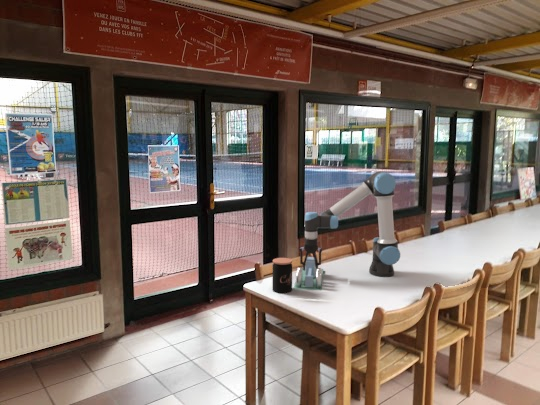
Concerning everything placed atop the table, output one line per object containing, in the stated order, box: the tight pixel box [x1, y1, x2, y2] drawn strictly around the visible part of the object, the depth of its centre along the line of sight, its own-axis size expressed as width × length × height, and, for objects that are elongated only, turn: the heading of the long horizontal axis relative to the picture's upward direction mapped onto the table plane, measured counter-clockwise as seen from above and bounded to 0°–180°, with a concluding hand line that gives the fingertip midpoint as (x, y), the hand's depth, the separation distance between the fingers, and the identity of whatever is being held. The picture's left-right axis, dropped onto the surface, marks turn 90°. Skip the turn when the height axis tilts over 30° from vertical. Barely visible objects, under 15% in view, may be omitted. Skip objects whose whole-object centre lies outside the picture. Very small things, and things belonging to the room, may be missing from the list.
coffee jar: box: [272, 257, 293, 294], centre depth 226 cm, size 11×11×18 cm
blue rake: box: [305, 256, 316, 287], centre depth 244 cm, size 5×26×10 cm, turn 172°
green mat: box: [293, 268, 324, 291], centre depth 248 cm, size 16×40×1 cm, turn 172°
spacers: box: [295, 266, 323, 289], centre depth 236 cm, size 14×13×8 cm
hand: (310, 275), depth 250 cm, fingers closed on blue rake, 5 cm apart
